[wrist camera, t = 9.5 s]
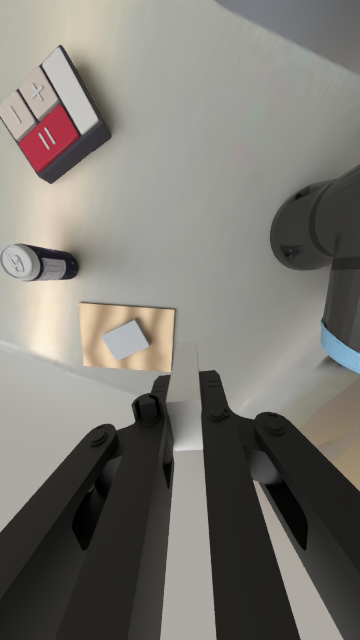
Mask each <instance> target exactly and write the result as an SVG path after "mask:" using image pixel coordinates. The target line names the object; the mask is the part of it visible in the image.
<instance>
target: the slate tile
mask: <svg viewBox="0 0 360 640" xmlns="http://www.w3.org/2000/svg"><path fill="white" fill-rule="evenodd" d="M101 338H102V339H103V341H104V342H105V344H106V345H107V347H108V349H109V350H110V352H111V353H112V355H113V356H114V358H115V359H116V361H119V360H121V359H123V358H125V357H127V356H129V355H132V354H134V353H136V352H138V351H140V350H143V349H145V348H147V347H149V346H150V345H151V342H150V340H149V338H148V337H147V335H146V333H145V331H144V330H143V328H142V326H141V324H140V323H139V321H138V319H137V318H135V319H133V320H131V321H129V322H127V323H125V324H123V325H121V326H119V327H117V328H115V329H113V330H111V331H109V332H107V333H105V334H103V335H102V336H101Z"/></svg>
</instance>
